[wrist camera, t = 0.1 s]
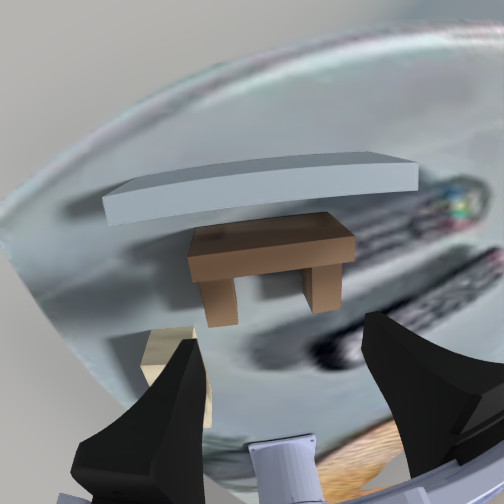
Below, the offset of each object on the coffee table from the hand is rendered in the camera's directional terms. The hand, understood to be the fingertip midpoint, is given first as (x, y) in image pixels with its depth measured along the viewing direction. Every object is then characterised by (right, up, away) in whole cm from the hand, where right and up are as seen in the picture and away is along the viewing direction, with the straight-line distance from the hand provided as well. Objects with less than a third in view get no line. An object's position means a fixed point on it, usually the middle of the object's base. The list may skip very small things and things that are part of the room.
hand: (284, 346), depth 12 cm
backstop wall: (-1, +9, +7) cm, 12 cm away
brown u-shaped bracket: (0, +3, +9) cm, 10 cm away
